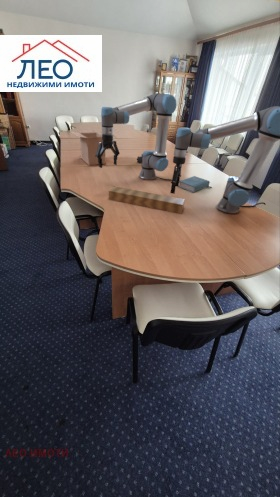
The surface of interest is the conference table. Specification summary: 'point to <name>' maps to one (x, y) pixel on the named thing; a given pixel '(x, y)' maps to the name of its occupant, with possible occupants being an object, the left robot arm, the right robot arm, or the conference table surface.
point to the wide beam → (147, 199)
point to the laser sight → (140, 159)
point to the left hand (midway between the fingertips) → (108, 166)
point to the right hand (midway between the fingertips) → (174, 189)
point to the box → (90, 146)
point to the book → (193, 183)
